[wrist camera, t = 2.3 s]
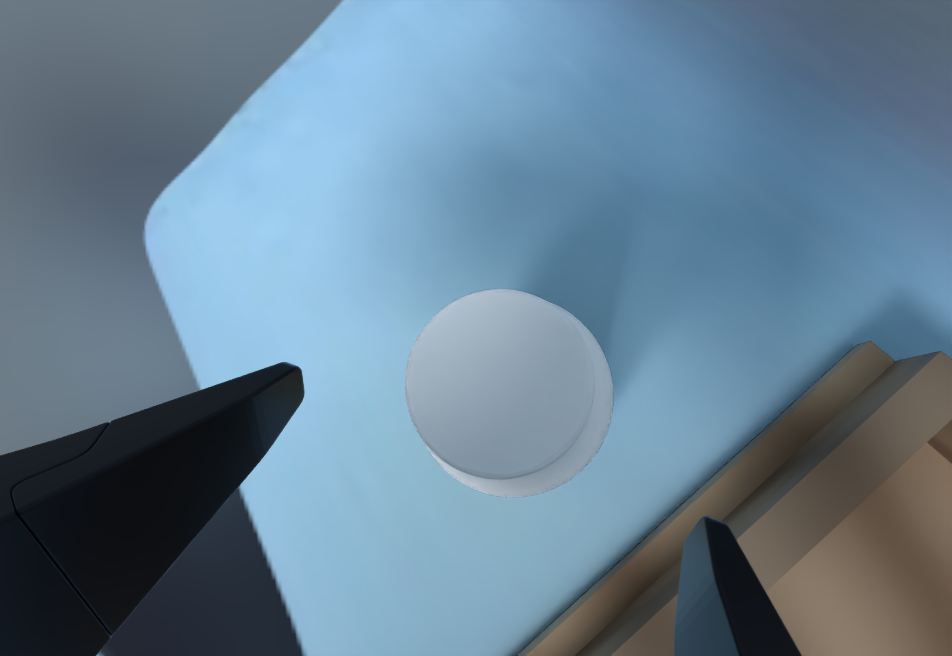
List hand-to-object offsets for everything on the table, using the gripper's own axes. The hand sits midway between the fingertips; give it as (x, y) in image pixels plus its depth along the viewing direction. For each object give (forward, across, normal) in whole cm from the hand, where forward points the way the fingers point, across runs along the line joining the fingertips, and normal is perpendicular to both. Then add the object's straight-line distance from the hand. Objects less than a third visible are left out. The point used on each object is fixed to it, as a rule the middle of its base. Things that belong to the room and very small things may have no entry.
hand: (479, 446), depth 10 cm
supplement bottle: (+8, 0, +6) cm, 9 cm away
